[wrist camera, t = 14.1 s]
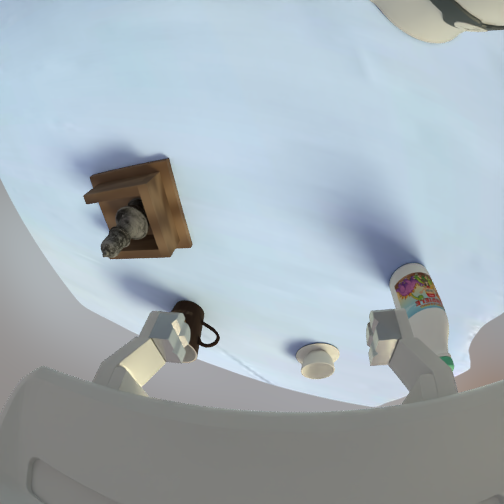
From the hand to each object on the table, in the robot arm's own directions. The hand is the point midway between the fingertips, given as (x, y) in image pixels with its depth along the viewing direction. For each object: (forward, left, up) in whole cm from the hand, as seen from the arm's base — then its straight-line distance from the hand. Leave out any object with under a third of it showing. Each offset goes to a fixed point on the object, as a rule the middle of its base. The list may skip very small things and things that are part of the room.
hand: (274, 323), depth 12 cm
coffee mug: (+32, -21, -29) cm, 48 cm away
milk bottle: (+24, +20, -29) cm, 43 cm away
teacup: (+46, +4, -30) cm, 55 cm away
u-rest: (+7, -24, -29) cm, 39 cm away
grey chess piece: (+8, -24, -28) cm, 38 cm away
